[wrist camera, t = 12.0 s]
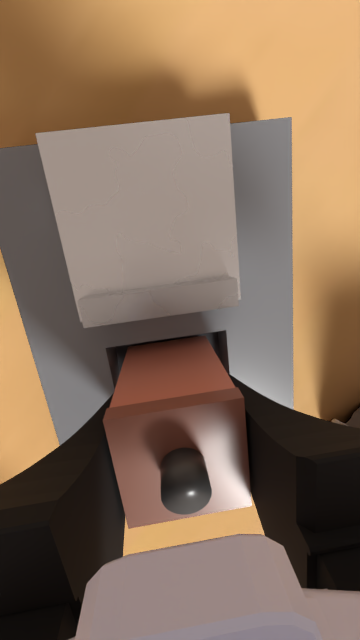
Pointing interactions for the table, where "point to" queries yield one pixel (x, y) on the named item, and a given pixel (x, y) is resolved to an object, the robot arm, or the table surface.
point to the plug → (177, 433)
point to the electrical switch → (351, 420)
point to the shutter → (146, 216)
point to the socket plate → (114, 339)
